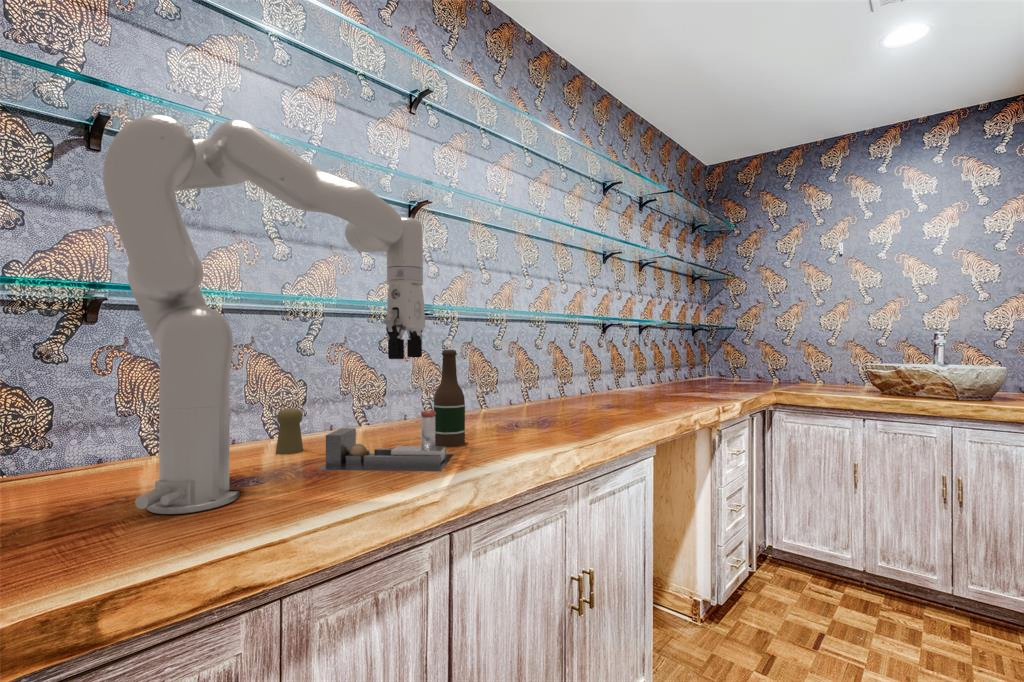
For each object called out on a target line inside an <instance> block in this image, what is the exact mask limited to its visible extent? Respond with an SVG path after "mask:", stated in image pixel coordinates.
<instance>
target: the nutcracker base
mask: <svg viewBox="0 0 1024 682" xmlns="http://www.w3.org/2000/svg"><path fill="white" fill-rule="evenodd" d="M355 444H357V427H356V428H355V427H350V428H349V427H342V428H339V429H337V430H335V431H332V432H330V433H328V434H326V435H325V464H324V465H322V466H320V467H319V468H316V471H361V472H362V471H369V472H371V471H372V472H373V471H374V472H376V471H377V472H380V471H381V472H433V473H434V472H437V473H438V472H439V473H440V472H442V471H443V469H445V467H446V465H447V464H448V463H449V462H450V460H451V459H452V458H453V456H454V454H452V453H450V454H449V453H447V449H446V448H445V459H444V460H443V461H442V463H440V456H391V450H393V449H394V448H375V449H374V450H373V451H374V452H373V453H371V450H368V449H367V455H366V456H364V459H363V460H362V456H360V455H349V451H350V448H351V447H352V446H353V445H355Z"/></svg>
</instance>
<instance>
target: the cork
mask: <svg viewBox="0 0 1024 682" xmlns="http://www.w3.org/2000/svg"><path fill="white" fill-rule="evenodd" d="M302 419H303V412H302V410H300V409H299V408H293V407H291V408H290V407H289V408H284V409H281V410H279V411H278V413H277V415H276V421H277V423H278V424H279V427H278V434H277V441H276V449H275V453H274V454H275V456H276V455H294V454H300V453H303V452H304V446H303V438H302V437H303V436H302V432H301V422H302V421H303V420H302Z"/></svg>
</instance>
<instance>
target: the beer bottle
mask: <svg viewBox="0 0 1024 682" xmlns="http://www.w3.org/2000/svg"><path fill="white" fill-rule="evenodd" d="M457 354H458V353H457V350H454V349H444V350H442V351H441V355H442V367H441V378H440V379H441V380H440V383H439V386H438V387H437V389H436V390H435V393H434V396H433V411H436V415H435V446H440V447H445V448H457V447H461V446H464V445H465V443H466V401H465V395H464V392H463V390H462V387H460V385H459V383H458V377H457V376H458V373H457V359H456V358H457V356H458V355H457Z"/></svg>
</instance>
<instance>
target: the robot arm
mask: <svg viewBox="0 0 1024 682" xmlns="http://www.w3.org/2000/svg"><path fill="white" fill-rule="evenodd" d="M102 168H103V170H102V179H103V187H104V193H105V198H106V202H107V204H108V208H109V210H110V213H111V215H112V218H113V220H114V224H115V227H116V229H117V233H118V235H119V237H120V240H121V243H122V245H123V247H124V249H125V252H126V255H127V258H128V264H127V268H126V269H127V271H126V274H127V280H128V284H129V287H130V290H131V292H132V295H133V298H134V300H135V302H136V304H137V307H138V309H139V311H140V314H141V316H142V319H143V320H144V323H145V325H146V327H147V329H148V332H149V334H150V336H151V339H152V340H153V343H154V345H155V347H156V348H157V349H158V351H159V352H160V359H159V361H160V363H159V380H158V381H159V382H158V383H159V384H158V385H159V386H158V388H159V389H158V408H159V411H158V415H159V417H158V422H159V423H158V427H159V428H158V430H159V431H158V432H159V433H158V437H159V438H158V443H159V444H158V480H156V481H155V482H154V488H153V489H152V491H150V492H147V493H144V494H141V495H139V496H138V497H136V499H135V501H134V503H135V504H134V505H135V506H136V508H137V509H139V510H144V509H146V510H147V511H148V512H149V513H153V514H159V515H181V514H188V513H189V514H190V513H196V512H202V511H208V510H211V509H215V508H219V507H222V506H226V505H227V504H230V503H232V502H234V501H236V500H237V499H238V498H240V495H241V489H230V442H231V441H230V433H231V432H230V430H231V429H230V427H231V426H230V420H231V419H230V416H231V415H230V413H231V412H230V410H231V409H230V407H231V406H230V405H231V404H230V391H231V390H230V388H231V387H230V386H231V385H230V381H231V380H230V379H231V367H232V366H231V365H232V357H233V350H234V349H233V347H234V339H233V332H232V328H231V326H230V323H229V322H228V320H227V319H226V317H225V316H224V315H223V314H221V313H220V312H219V311H217V310H215V309H214V308H211V307H208V306H207V303H206V300H205V298H204V295H203V293H202V289H201V287H200V286H201V284H202V282H203V278H204V269H203V265H202V262H201V260H200V258H199V255H198V254H197V251H196V249H195V247H194V245H193V242H192V240H191V237H190V235H189V232H188V230H187V228H186V225H185V223H184V220H183V217H182V213H181V211H180V209H179V205H178V201H177V196H176V192H179V191H189V190H199V189H210V188H220V187H229V186H234V185H238V184H239V185H240V184H242V183H243V184H244V183H245V182H247V181H249V182H250V183H252V184H254V185H255V186H257V187H258V188H261V189H262V190H263V191H265V192H267V193H268V194H270V195H272V196H273V197H274V198H277V199H278V200H280V201H281V202H283V203H285V204H286V205H287V206H290V207H291V208H293V209H296V210H298V211H299V210H300V211H305V212H311V213H313V212H314V213H321V214H322V213H323V214H327V215H331V216H335V217H337V218H340V219H342V220H344V221H347V222H348V223H347V225H346V226H345V229H344V235H345V239H346V241H347V243H348V244H349V245H350V246H351V247H352V248H353V249H355V250H357V251H359V252H364V253H375V252H376V253H381V252H382V253H383V252H385V253H386V284H387V285H388V289H387V300H386V301H387V302H386V305H387V306H386V316H385V317H384V321H385V326H386V328H385V330H386V333H387V335H386V337H387V338H386V339H387V351H388V353H387V356H388V359H389V360H404V358H405V339H403V335H404V333H405V332H406V333H407V335H408V339H407V340H406V341H407V342H406V343H407V344H406V345H407V346H406V347H407V348H406V349H407V351H406V352H407V357H408V358H421V357H422V356H423V331H424V330H425V329H426V315H425V314H426V313H425V312H426V311H425V299H424V290H423V286H424V254H423V253H424V250H423V249H424V242H423V238H424V236H423V234H424V233H423V225H422V223H421V221H419V220H418V219H415V218H412V217H404V216H402V217H401V215H400V214H399V212H398V211H396V209H395V208H394V207H393V206H391V205H390V204H389V203H388V202H386V201H385V200H383V199H382V198H381V197H380V196H378V195H377V194H376V193H375V192H372V191H371V190H369V189H367V188H366V187H364V186H362V185H361V184H358V183H355V182H353V181H351V180H348V179H346V178H343V177H340V176H337V175H335V174H333V173H330V172H326V171H322V170H321V169H318V168H317V167H316V166H314V165H312V164H311V163H310V162H308V161H306V160H305V159H303V158H302V157H300V156H299V155H297V154H296V153H294V152H293V151H292V150H290V149H288V148H287V147H286V146H284V145H283V144H281V142H279V141H277V140H276V139H274V138H273V137H272V136H270V135H268V134H267V133H265V132H264V131H263V130H261V129H260V128H258V127H256V126H255V125H253V124H252V123H250V122H247V121H245V120H242V119H229V120H227V121H225V122H223V123H221V124H220V125H219V126H218V127H217V128H216V130H215V131H214V132H213V134H212V135H211V137H206V138H195V139H193V137H192V135H191V134H190V132H189V131H188V129H186V127H185V126H184V125H183V124H182V123H181V122H179V121H178V120H176V119H174V118H172V117H170V116H168V115H164V114H146V115H143V116H141V117H137V118H136V119H134V120H132V121H130V122H129V123H127V124H126V125H124V127H123V128H121V129H120V130H119V131H118V132H117V133H116V135H115V136H114V137H113V139H112V140H111V142H110V144H109V146H108V148H107V151H106V154H105V157H104V161H103V167H102Z"/></svg>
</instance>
